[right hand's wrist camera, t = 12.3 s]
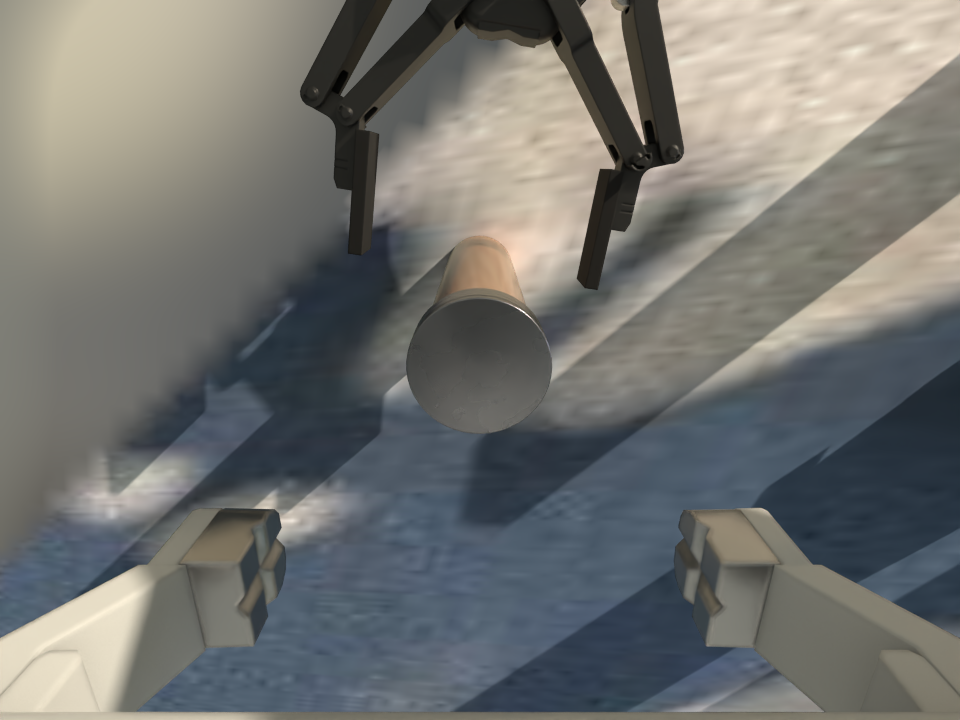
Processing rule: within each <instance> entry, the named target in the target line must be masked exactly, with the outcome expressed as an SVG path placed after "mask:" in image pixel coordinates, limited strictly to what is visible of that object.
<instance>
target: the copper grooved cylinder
mask: <svg viewBox="0 0 960 720" xmlns="http://www.w3.org/2000/svg"><path fill="white" fill-rule="evenodd" d="M472 288H488V289H493V290H498V291H501V292H504V293H507V294H509V295H511V296H513V297H515V298H516V299H518V300H519V301H521V302H522V303H523V304H525V301H524V298H523V295H522V292H521V289H520V286H519V283H518V279H517V276H516V273H515V270H514V267H513V264H512V261H511V258H510V256H509V254H508V252H507V250H506V249H505V248H504V246H503V245H502V244H500V243H499V242H498V241H496V240H494V239H492V238H490V237H486V236H474V237H470V238H467V239H465V240H463V241H461V242H460V243H459V244H458V245H457V246H456V247H455V248H454V249H453V251H452V252H451V254H450V256H449V259H448V262H447V265H446V268H445V271H444V274H443V277H442V280H441V282H440V285H439V288H438V291H437V294H436V297H435V300H434V303H433V305H434V304H435V303H436V302H438V301H439V300H441V299H442V298H444V297H446V296H448V295H450V294H452V293H455V292H457V291H460V290H465V289H472ZM525 305H526V304H525Z"/></svg>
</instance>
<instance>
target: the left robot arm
mask: <svg viewBox="0 0 960 720" xmlns="http://www.w3.org/2000/svg"><path fill="white" fill-rule="evenodd" d="M391 1H392V0H346V2H345V4H344V6H343V8H342V10H341V11H340V13H339V15H338V17H337V19H336V21H335V23H334V25H333V27H332V29H331V31H330V33H329V35H328V36H327V38H326V40H325V42H324V44H323V46H322V48H321V50H320V52H319V54H318V56H317V58H316V60H315V62H314V63H313V65H312V67H311V69H310V71H309V73H308V75H307V77H306V79H305V81H304V83H303V85H302V87H301V90H300V95H301V98H302V100H303V102H304V103H305V104H306V105H308V106H310V107H312V108H314V109H316V110H318V111H319V112H321V113H323V114H325V115H327V116H328V117H329V118H330V119H331V120H332V121H333V123H334V124H335V128H336V142H335V163H334V166H335V167H334V180H335V183H336V187H337V188H340V189H346V190H352V195H351V212H350V228H349V245H348V254H355V255H362V254H364V253H365V252H366V251H368V250H369V249H370V248H371V237H372V223H373V210H374V197H375V183H376V170H377V156H378V143H379V134H377V133H374V132H371V131H365V130H364V129H365V128H366V126H365V125H366V124H367V123H368V122H369V121H370V120H371V118H372V117H373V116H374V115H375V114H376V113H377V112H378V111H379V110H380V109H381V108H382V107H383V106H384V105H385V104H386V103H387V102H388V101H389V100H390V99H391V98H392V97H393V96H394V95H395V94H396V93H397V92H398V91H399V90H400V89H401V88H402V87H403V85H404V84H405V83H406V82H407V81H408V80H409V79H410V78H411V77H412V76H413V75H414V74H415V73H416V72H417V71H418V70H419V69H420V68H421V67H422V66H423V65H424V64H425V63H426V62H427V61H428V60H429V59H430V58H431V57H432V56H433V55H434V54H435V53H436V51H437V50H438V49H439V48H440V47H441V46H442V45H443V44H445V43H446V42H448V41H449V40H451V39H452V38H453V37H454V36H455V35H456V34H457V32H458V31H459V30H460V29H461V28H462V27H463V26H464V25H465V26H466V27H467V28H468V29H469V30H470V31H471V32H472V33H474V34H476V35H478V39H484V40H490V41H494V40H501V39H509V40H511V41H513V42H515V43H517V44H519V45H521V46H526V47H532V48H535V46H536V45H540V44H544V43H546V42H547V41H549V40H551V42H552V44H553V46H554V48H555V50H556V52H557V54H558V56H559V58H560V59H561V61H562V62H563V63H564V64H565V66H566V68H567V70H568V72H569V73H570V75H571V77H572V79H573V81H574V83H575V85H576V87H577V89H578V91H579V93H580V95H581V97H582V99H583V101H584V103H585V105H586V107H587V109H588V111H589V113H590V115H591V117H592V119H593V121H594V123H595V125H596V127H597V129H598V131H599V133H600V135H601V137H602V139H603V141H604V143H605V145H606V147H607V149H608V151H609V153H610V155H611V157H612V159H613V161H614V163H615V165H616V166H615V170H613V169H600V171H599V176H598V181H597V185H596V190H595V195H594V199H593V204H592V209H591V214H590V218H589V223H588V228H587V233H586V237H585V242H584V247H583V252H582V256H581V261H580V266H579V271H578V275H577V279H578V281H579V282H580V283H581V284H582V285H583V286H584V288H588V289H595V290H598V286H599V281H600V277H601V273H602V268H603V264H604V259H605V255H606V250H607V246H608V242H609V237H610V233H611V230H617V231H623V232H625V231H626V229H627V228H628V226H629V225H630V223H631V218H632V214H633V210H634V205H635V201H636V197H637V193H638V189H639V185H640V180H641V178H642V176H643V174H644V173H645V172H646V171H647V170H649V169H650V168H653V167H658V166H662V165H667V164H674V163H676V162H678V161H679V160H680V159H681V158H682V156H683V154H684V146H683V141H682V135H681V130H680V124H679V119H678V113H677V108H676V102H675V97H674V91H673V86H672V80H671V75H670V69H669V64H668V58H667V53H666V47H665V42H664V36H663V31H662V25H661V20H660V14H659V9H658V0H611V4H612V6H613V7H614V8H615V9H616V10H619V11H622V15H621V17H622V30H623V36H624V41H625V46H626V51H627V56H628V61H629V66H630V70H631V75H632V80H633V85H634V90H635V95H636V100H637V105H638V110H639V114H640V119H641V124H642V129H643V134H644V139H645V144H646V145H643V144H642V142H641V140H640V138H639V135H638V133H637V131H636V129H635V127H634V125H633V123H632V121H631V119H630V117H629V115H628V112H627V110H626V108H625V106H624V104H623V102H622V100H621V98H620V96H619V94H618V92H617V90H616V87H615V85H614V83H613V81H612V79H611V77H610V75H609V73H608V71H607V69H606V67H605V65H604V62H603V60H602V58H601V56H600V54H599V52H598V50H597V48H596V46H595V44H594V41H593V36H592V32H591V29H590V27H589V25H588V22H587V20H586V18H585V16H584V14H583V12H582V10H581V8H580V7H581V5H582V4H583V3H584V2H585V1H586V0H431V2H430V3H429V4H428V6H427V7H426V9H425V11H424V13H423V14H422V15H421V16H420V17H419V18H418V19H417V20H416V21H415V22H414V23H413V25H412V26H411V27H410V28H409V29H408V30H407V31H406V32H405V33H404V34H403V35H402V36H401V37H400V38H399V39H398V41H396V43H395V44H394V45H393V46H392V47H391V48H390V49H389V50H388V51H387V52H386V53H385V54H384V55H383V56H382V57H381V58H380V60H379V61H378V62H377V63H376V64H375V65H374V66H373V67H372V68H371V69H370V70H369V71H368V72H367V73H366V74H365V75H364V76H363V78H362V79H361V80H360V81H359V82H358V83H357V84H356V85H355V86H354V87H353V88H352V89H351V90H350V91H349V92H348V94H347V95H346V96H345V97H342V96H340V95H341V93H342V91H343V89H344V88H345V86H346V84H347V82H348V80H349V78H350V76H351V75H352V73H353V71H354V69H355V67H356V66H357V64H358V62H359V60H360V58H361V56H362V54H363V53H364V51H365V49H366V47H367V45H368V43H369V42H370V40H371V38H372V36H373V34H374V32H375V31H376V29H377V27H378V25H379V23H380V21H381V20H382V18H383V16H384V14H385V12H386V10H387V9H388V7H389V5H390V3H391Z"/></svg>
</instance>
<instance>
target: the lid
mask: <svg viewBox="0 0 960 720" xmlns="http://www.w3.org/2000/svg"><path fill="white" fill-rule="evenodd" d="M406 370H407V377H408V381H409V385H410V388H411V390H412V393H413V395H414V397H415V398H416V400H417V401H418V403H419V404H420V406H421V407H422V408H423V409H424V410H425V411H426V412H427V413H428V414H429V415H430V416H431V417H432V418H434V419H435V420H436V421H438V422H440V423H441V424H443V425H445V426H447V427H449V428H452V429H454V430H458V431H461V432H467V433H478V434H482V433H492V432H497V431H501V430H504V429H507V428H509V427H511V426H513V425H516V424H517V423H519V422H520V421H522V420H524V419H525V418H526V417H527V416H529V415H530V414H531V413H532V412H533V411H534V410H535V409H536V408H537V406H538V405H539V403H540V402H541V401H542V399H543V397H544V395H545V394H546V391H547V389H548V386H549V383H550V379H551V373H552V357H551V352H550V348H549V345H548V342H547V339H546V337H545V334H544V331H543V329H542V327H541V325H540V323H539V321H538V319H537V318H536V316H535V315H534V314H533V312H532V311H531V310H530V309H529V308H528V307H527V306H526V305H525V304H523V303H522V302H521V301H519V300H518V299H516V298H515V297H513V296H511V295H509V294H507V293H504V292H501V291H498V290H493V289H488V288H472V289H465V290H460V291H457V292H455V293H452V294H450V295H448V296H446V297H444V298H442V299H441V300H439V301H438V302H436V303H435V304H434V305H433V306H432V307H431V308H429V309H428V311H427V312H426V313H425V314H424V315H423V317H422V319H421V320H420V322H419V323H418V326H417V328H416V330H415V333H414V335H413V338H412V340H411V343H410V346H409V349H408V354H407V361H406Z"/></svg>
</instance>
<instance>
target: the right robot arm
mask: <svg viewBox="0 0 960 720" xmlns="http://www.w3.org/2000/svg"><path fill="white" fill-rule="evenodd" d="M281 528H282V527H281V522H280V517H279V513H278V512H277V511H276V510H275V509H234V508H225V509H222V508H199V509H196V510H193V511H192V512H191V513H190V514H189V516H188V517H187V518H186V519H185V520H184V522H183V523H182V524H181V525H180V526H179V528H178V529H177V530H176V531H175V532H174V533H173V535H172V536H171V537H170V538H169V539H168V541H167V542H166V543H165V544H164V545H163V547H162V548H161V549H160V550H159V551H158V552H157V554H156V555H155V556H154V557H153V558H152V560H151V561H150V562H149V563H148V564H147V565H138V566H136V567H134V568H132V569H130V570H128V571H126V572H124V573H122V574H121V575H119V576H117V577H115V578H113V579H111V580H109V581H107V582H105V583H104V584H102V585H100V586H98V587H96V588H94V589H92V590H90V591H88V592H87V593H85V594H83V595H81V596H79V597H77V598H75V599H73V600H71V601H70V602H68V603H66V604H64V605H62V606H60V607H58V608H56V609H54V610H53V611H51V612H49V613H47V614H45V615H43V616H41V617H39V618H37V619H36V620H34V621H32V622H30V623H28V624H26V625H24V626H22V627H20V628H19V629H17V630H15V631H13V632H11V633H9V634H7V635H5V636H3V637H2V638H0V720H960V638H958V637H956V636H954V635H952V634H951V633H949V632H947V631H945V630H943V629H941V628H939V627H937V626H936V625H934V624H932V623H930V622H928V621H926V620H924V619H922V618H920V617H919V616H917V615H915V614H913V613H911V612H909V611H907V610H905V609H903V608H902V607H900V606H898V605H896V604H894V603H892V602H890V601H888V600H887V599H885V598H883V597H881V596H879V595H877V594H875V593H873V592H871V591H870V590H868V589H866V588H864V587H862V586H860V585H858V584H856V583H855V582H853V581H851V580H849V579H847V578H845V577H843V576H841V575H839V574H838V573H836V572H834V571H832V570H830V569H828V568H826V567H824V566H822V565H813V564H812V563H811V562H810V561H809V560H808V558H807V557H806V556H805V555H804V554H803V552H802V551H801V550H800V549H799V548H798V547H797V545H796V544H795V543H794V542H793V541H792V539H791V538H790V537H789V536H788V535H787V534H786V532H785V531H784V530H783V529H782V528H781V526H780V525H779V524H778V523H777V522H776V521H775V519H774V518H773V517H772V516H771V515H770V513H769V512H768V511H766V510H764V509H762V508H741V509H730V510H683V512H682V514H681V516H680V521H679V527H678V528H679V530H680V531H681V533H682V535H683V537H684V538H683V539H682V540H681V541H680V542H679V544H678V545H677V546H676V547H675V555H674V569H675V577H676V581H677V584H678V587H679V590H680V592H681V594H682V596H683V598H685V599H686V600H687V601H689V602H690V603H691V604H693V605H694V607H693V613H692V618H693V620H694V622H695V624H696V626H697V628H698V630H699V632H700V634H701V636H702V638H703V640H704V642H705V645H706V646H711V647H746V648H755V649H754V650H755V651H756V652H757V653H758V654H759V655H761V656H762V657H763V658H764V659H765V660H766V661H767V662H769V663H770V664H771V665H772V666H773V667H774V668H775V669H777V670H778V671H779V672H780V673H781V674H782V675H783V676H785V677H786V678H787V679H788V680H789V681H790V682H791V683H793V684H794V685H795V686H796V687H797V688H798V689H799V690H801V691H802V692H803V693H804V694H805V695H806V696H807V697H808V698H810V699H811V700H812V701H813V702H814V703H815V704H816V705H818V706H819V707H820V708H821V709H822V710H823V711H824V712H136V711H137V710H138V709H139V708H140V707H141V706H143V705H144V704H145V703H146V702H147V701H148V700H149V699H151V698H152V697H153V696H154V695H155V694H156V693H157V692H159V691H160V690H161V689H162V688H163V687H164V686H165V685H167V684H168V683H169V682H170V681H171V680H172V679H173V678H175V677H176V676H177V675H178V674H179V673H180V672H181V671H183V670H184V669H185V668H186V667H187V666H188V665H189V664H191V663H192V662H193V661H194V660H195V659H196V658H197V657H199V656H200V655H201V654H202V653H203V652H204V651H205V648H214V647H247V646H254V645H255V643H256V641H257V638H258V636H259V634H260V632H261V630H262V628H263V626H264V624H265V622H266V620H267V618H268V613H267V607H266V605H267V604H269V603H270V602H271V601H273V600H274V599H275V598H277V596H278V594H279V592H280V589H281V587H282V585H283V580H284V576H285V571H286V554H285V547H284V546H283V545H282V544H281V542H280V541H279V540H278V539H277V538H276V537H277V535H278V533H279V531H280V530H281Z"/></svg>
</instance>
